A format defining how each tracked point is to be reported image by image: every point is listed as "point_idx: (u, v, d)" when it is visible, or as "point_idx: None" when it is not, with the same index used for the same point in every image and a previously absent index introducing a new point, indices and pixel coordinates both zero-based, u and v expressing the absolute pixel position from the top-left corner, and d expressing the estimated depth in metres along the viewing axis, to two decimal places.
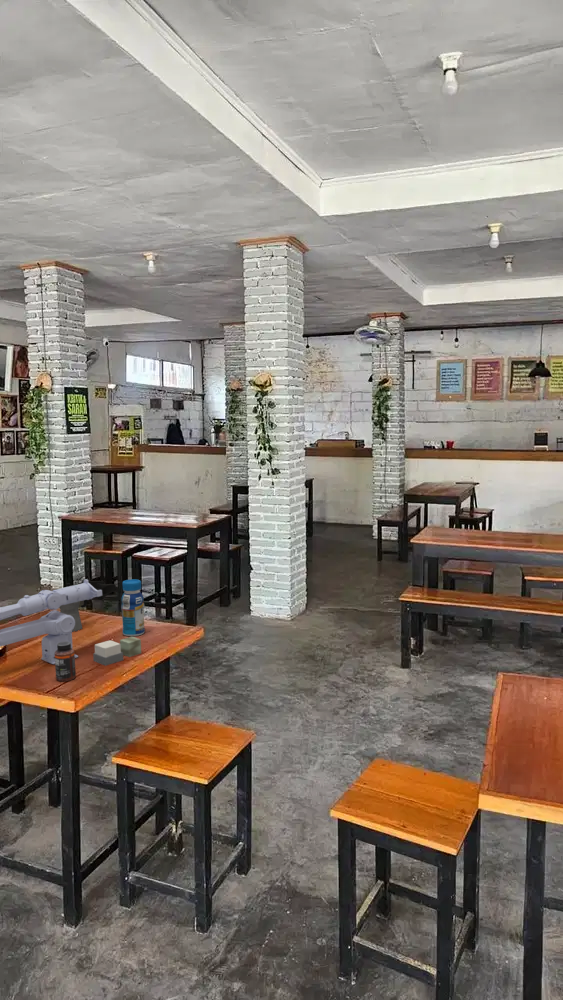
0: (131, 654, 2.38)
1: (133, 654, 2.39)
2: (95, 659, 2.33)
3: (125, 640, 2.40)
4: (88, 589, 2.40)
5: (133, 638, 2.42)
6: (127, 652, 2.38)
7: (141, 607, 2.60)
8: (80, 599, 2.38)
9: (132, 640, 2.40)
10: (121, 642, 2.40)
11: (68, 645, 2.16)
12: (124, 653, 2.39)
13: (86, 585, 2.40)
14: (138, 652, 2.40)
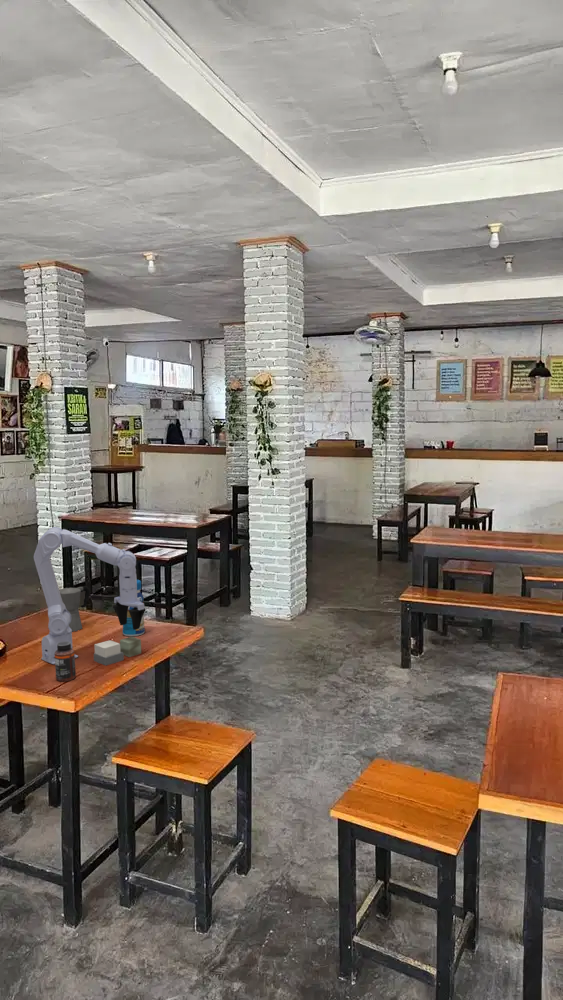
0: (131, 654, 2.38)
1: (133, 654, 2.39)
2: (95, 659, 2.33)
3: (125, 640, 2.40)
4: (135, 599, 2.38)
5: (133, 638, 2.42)
6: (127, 652, 2.38)
7: None
8: (127, 592, 2.36)
9: (132, 640, 2.40)
10: (121, 642, 2.40)
11: (68, 645, 2.16)
12: (124, 653, 2.39)
13: (137, 598, 2.39)
14: (138, 652, 2.40)
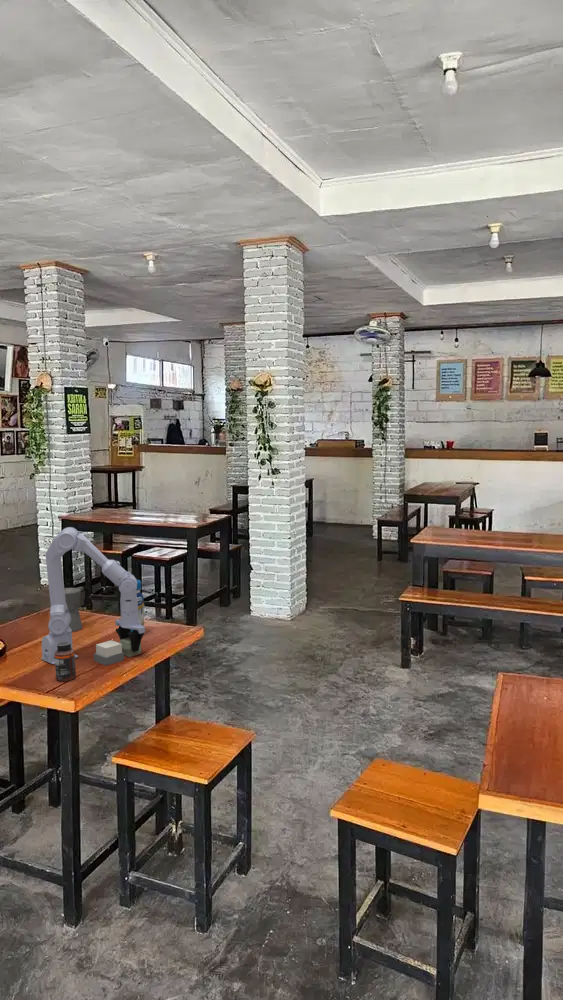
0: (131, 654, 2.38)
1: (133, 654, 2.39)
2: (96, 659, 2.33)
3: (125, 640, 2.40)
4: (136, 622, 2.39)
5: None
6: (127, 652, 2.38)
7: (141, 607, 2.60)
8: (128, 615, 2.36)
9: None
10: (121, 642, 2.40)
11: (68, 645, 2.16)
12: (124, 653, 2.39)
13: (138, 621, 2.40)
14: (138, 652, 2.40)
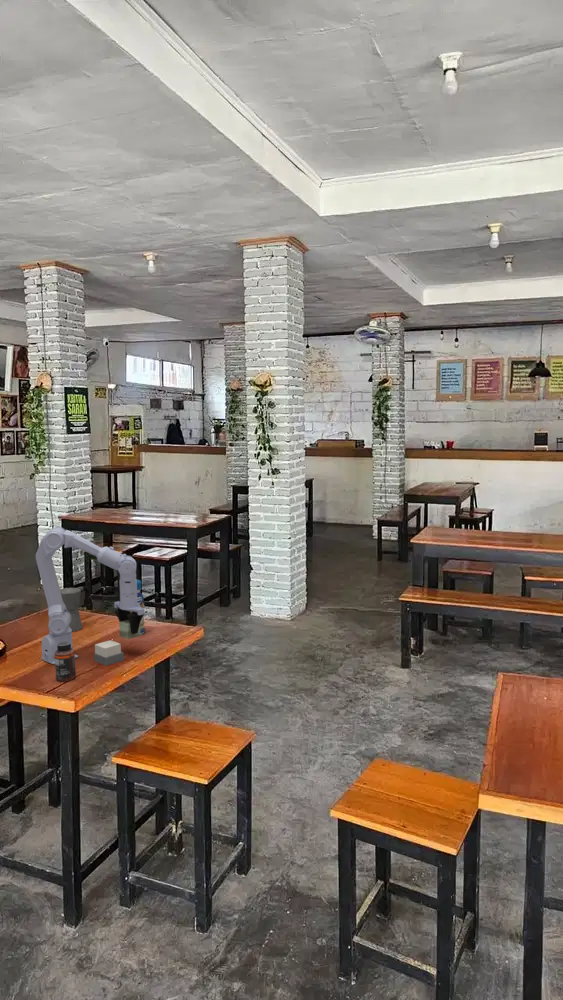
0: (130, 636, 2.37)
1: (132, 636, 2.38)
2: (96, 659, 2.33)
3: (124, 622, 2.39)
4: (136, 604, 2.38)
5: None
6: (126, 634, 2.37)
7: (141, 607, 2.60)
8: (127, 597, 2.36)
9: None
10: (120, 624, 2.39)
11: (68, 645, 2.16)
12: (123, 635, 2.38)
13: (137, 603, 2.39)
14: (137, 634, 2.39)
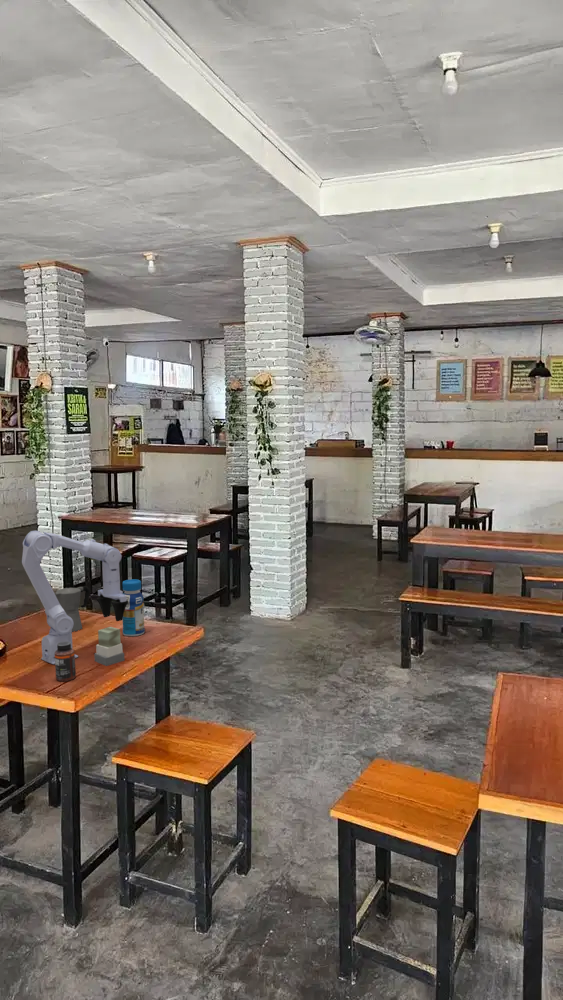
0: (111, 645, 2.31)
1: (112, 644, 2.31)
2: (96, 659, 2.33)
3: (104, 630, 2.32)
4: (118, 592, 2.44)
5: (112, 628, 2.34)
6: (106, 642, 2.30)
7: (141, 607, 2.60)
8: (110, 585, 2.42)
9: (111, 630, 2.32)
10: (99, 632, 2.32)
11: (68, 645, 2.16)
12: (103, 644, 2.32)
13: None
14: (117, 642, 2.33)
